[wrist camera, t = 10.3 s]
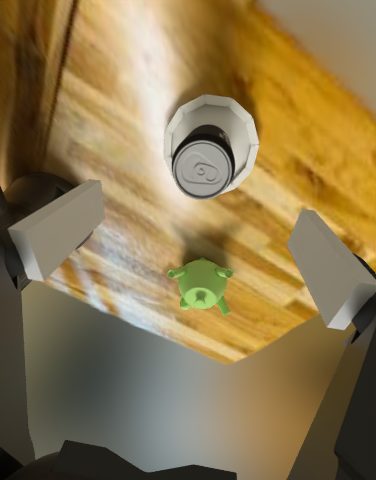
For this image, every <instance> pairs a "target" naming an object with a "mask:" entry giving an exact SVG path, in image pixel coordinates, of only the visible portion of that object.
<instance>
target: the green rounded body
mask: <svg viewBox="0 0 376 480" xmlns="http://www.w3.org/2000/svg"><path fill="white" fill-rule="evenodd" d="M232 275H233V271H232V270H231V269H228V268H221V267H220V266H218V265H217V264H215V263H213V262H210V261H207V260H206V259H205V258H203V257H201V258H199V259H198V260H196V261H192V262H189V263H187V264H186V265H185V266H184V267H180V268H176V269H171V270H169V271H168V276H169V278H171V279H172V278H175V277H178V287H179V290H180V293H181V297H182V299H181V302H180V307H181V308H182V309H184V310H187V309H189V308H190V307H191V306H192V307H194V308H198V309H207V308H210V307H212V306H213V305H214V304H216V303H217V304H218V306H219V308H220V310H221V312H222V314H223V316H224V315H227V314H229V313H230V310H229V308H228V306H227V304H226V301H225V299H224V297H223V294H224V292H225V289H226V285H227V278H230V277H232ZM186 302H187V303H186ZM185 303H186V304H185Z"/></svg>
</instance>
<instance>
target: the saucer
mask: <svg viewBox="0 0 376 480" xmlns="http://www.w3.org/2000/svg"><path fill="white" fill-rule="evenodd" d="M206 124H210V125H215V126H217V127H219V128H221V129H222V130H223V131H224V132H225V133H226V134H227V136H228V138H229V140H230V144H231V147H232V151H233V154H234V158H235V173H234V176H233V179H232V181H231V183H230V184H229V186H228V187H227V188H226V189H225V190H224V191H223V192H222V193H225V192H228V191H230V190H233V189H235V188H236V187H237V186H238V185H239V184H240V183H241V182H242V181H243V180H244V179H245V178H246V177H247V176H248V175H249V173H250V172H251V171H252V170H253V166H254V162H255V159H256V155H257V151H258V148H259V145H258V144H259V141H258V137H257V133H256V129H255V124H254V120H253V118H252V116H251V115H250V114H249V113H248V112H247V111H246V110H245V109H244V108H243V107H241V106H240V105H239V104H238V103H237V102H236V101H235V100H234V99H232V100H231V98H230V97H223V96H215V95H208V94H205V95H202V96H200V97H198V98H196V99H194V100H192V101H190V102H188V103H186V104H184V105H182V106H180V108H179V109H178V110H177V112H176V113H175V115H174V117H173V118H172V120H171V122H170V123H169V125H168V127H167V128H166V130H165V139H164V159H165V161H166V164H167V166H168V168H169V170H170V172H171V175H172V177H173V174H172V158H173V155H174V152H175V150H176V148H177V147H178V146H179V144H180V143H181V142H182V141H183V140H184V139H185V138H186V137H187V136H188V135H189V134H190V133H191V132H192V131H193V130H194V129H195V128H197V127H199V126H201V125H206ZM173 179H174V178H173ZM234 187H235V188H234ZM222 193H221V194H222Z"/></svg>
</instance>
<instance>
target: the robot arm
mask: <svg viewBox="0 0 376 480" xmlns="http://www.w3.org/2000/svg"><path fill="white" fill-rule="evenodd" d="M104 219H105V210H104V202H103V194H102V186H101V181H99V180H92V179H89V180H87V181H86V182H84V183H82V184H81V185H79V186H77V187H76V188H75V187H74V186H73V185H71V184H70V183H69V182H67V181H65V180H64V179H62V178H60V177H58V176H55V175H52V174H49V173H42V172H36V173H31V174H28V175H25V176H23V177H20V178H18V179H16V180H15V181H13V182H12V183H11V184H10V186H9V187H8V188H7V189H6V190H5V191H4V192H3V191H2V189H1V187H0V480H237V475H236V473H235V472H230V471H224V470H219V469H214V468H209V467H204V466H199V465H188V466H183V467H178V468H173V469H166V470H161V471H156V472H149V473H148V472H144V471H142V470H140V469H139V468H137V467H135V466H134V465H132V464H131V463H129V462H127V461H126V460H124V459H123V458H121V457H120V456H118V455H117V454H115V453H114V452H112V451H110V450H109V449H107V448H105V447H100V446H95V445H89V444H84V443H79V442H74V441H68V440H65V442H64V444H63V446H62V448H61V450H60V451H59V452H55V453H52V454H49V455H46V456H43V457H41V458H39V459H37V460H35V452H34V448H33V443H32V441H31V437H30V434H29V428H28V413H27V394H26V376H25V356H24V338H23V319H22V299H21V291H22V290H23V289H24V288H25V287H26V286H27V285H28V284H29V283H30V282H31V281H32V280H38V281H45V280H46V279H47V278H48V277H49V276H50V275H51V274H52V273H53V272H54V270H55V269H56V268H57V267H58V266H59V265H60V264H61V263H62V262H63V261H64V260H65V259H66V258H67V257H68V256H69V255H70V254H71V253H72V252H73V251H74V250H75V249H77V248H79V247H81V246H82V245H83V244H84V243H85V242H86V241H87V240H88V239H89V238H90V236H91V235H92V233H93V230H94V229H95V228H96V227H97V226H98V225H99V224H100V223H101V222H102V221H103V220H104ZM287 246H288V248H289V250H290V252H291V254H292V256H293V259H294V261H295V263H296V265H297V267H298V269H299V271H300V273H301V275H302V277H303V279H304V281H305V283H306V285H307V287H308V289H309V291H310V294H311V296H312V298H313V300H314V302H315V304H316V306H317V308H318V310H319V312H320V314H321V316H322V318H323V320H324V322H325V324H326V326H327V327H329V328H335V329H341V330H345V329H346V327H347V326H348V325H349V324H350V322H351V321H352V322H353V324H354V325H355V327H356V330H355V331H354V333H352V335H351V336H350V337H349V338H348V339H347V340H346V341H345V343H344V345H345V346H347V347H346V349H345V351H344V353H343V355H342V357H341V360H340V362H339V364H338V366H337V369H336V371H335V373H334V375H333V378H332V380H331V382H330V384H329V386H328V389H327V391H326V393H325V395H324V398H323V400H322V402H321V405H320V407H319V409H318V411H317V413H316V416H315V418H314V420H313V422H312V424H311V427H310V429H309V431H308V433H307V436H306V438H305V440H304V442H303V445H302V447H301V449H300V451H299V454H298V456H297V458H296V460H295V462H294V465H293V467H292V469H291V471H290V474H289V476H288V478H287V480H376V274H375V272H374V271H373V270H372V269H371V268H370V266H369V265H368V264H367V263H366V262H365V261H364V260H363V259H361V258H360V257H359V256H357V255H356V254H354V253H352V252H351V251H350V250H349V249H348V248H347V247H346V246H345V245H344V243H343V242H342V241H341V240H340V239H339V238H338V237H337V236H336V234H335V233H334V232H333V231H332V230H331V229H330V228H329V227H328V225H327V224H326V223H325V222H324V221H323V220H322V219H321V218H320V216H319V215H318V214H317V213H316V212H315V211H313V210H306V209H302V210H301V213H300V215H299V217H298V220H297V222H296V224H295V226H294V229H293V231H292V233H291V236H290V238H289V240H288V243H287Z"/></svg>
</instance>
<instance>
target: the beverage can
mask: <svg viewBox="0 0 376 480" xmlns="http://www.w3.org/2000/svg"><path fill="white" fill-rule="evenodd" d="M234 173H235V158H234V154H233V151H232V147H231V144H230V140H229V138H228V136H227V134H226V133H225V132H224V131H223V130H222V129H221V128H219V127H217V126H215V125H210V124H206V125H201V126H199V127H197V128H195V129H194V130H193V131H192V132H191V133H190V134H189V135H188V136H187V137H186V138H185V139H184V140H183V141H182V142H181V143H180V144H179V146H178V147H177V148H176V150H175V152H174V155H173V158H172V174H173V178H174V180H175V182H176V184H177V186H178V188H179V189H180V190H181V191H182V192H183V193H184V194H185V195H187V196H188V197H190V198H193V199H197V200H208V199H211V198H214V197H216V196H218V195H219V194H221V193H222V192H223V191H224V190H225V189H226V188H227V187H228V186H229V184H230V183H231V181H232V179H233V176H234Z"/></svg>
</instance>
